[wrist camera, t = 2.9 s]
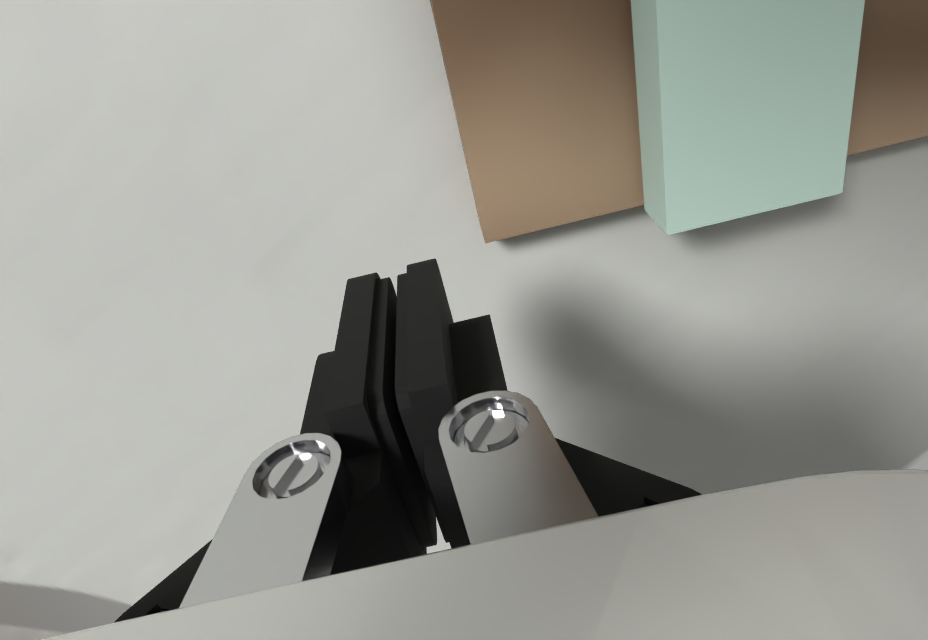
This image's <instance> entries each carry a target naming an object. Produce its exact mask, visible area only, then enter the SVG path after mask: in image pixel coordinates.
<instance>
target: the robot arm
mask: <svg viewBox="0 0 928 640" xmlns="http://www.w3.org/2000/svg"><path fill="white" fill-rule="evenodd" d="M436 517H437V520H438V523H439V526H440V528H441V531H442V534H443V537H444V539H445V542H446V543H447V542H450V545H451V548H452V549H448V550H443V551H438V552H434V553H429V554H427V550H426V547H429V546H433V545H436V544H437V528H436ZM40 640H928V470H914V469H905V470H865V471H848V472H839V473H830V474H821V475H812V476H803V477H797V478H792V479H786V480H781V481H775V482H770V483H764V484H759V485H753V486H748V487H742V488H737V489H731V490H726V491H720V492H715V493H709V494H704V495H702V494H700V493H698V492H696V491H695V490H693V489H690V488H688V487H685V486H682V485H680V484H677V483H674V482H672V481H669V480H666V479H664V478H661V477H658V476H656V475H653V474H650V473H648V472H645V471H642V470H640V469H637V468H634V467H631V466H629V465H626V464H623V463H621V462H618V461H615V460H613V459H610V458H607V457H605V456H602V455H599V454H597V453H594V452H591V451H589V450H586V449H583V448H581V447H578V446H575V445H573V444H570V443H567V442H564V441H562V440H559V439H556V438H554V436H553V434H552V432H551V431H550V429H549V427H548V425H547V424H546V422H545V420H544V418H543V416H542V415H541V413H540V411H539V409H538V407H537V406H536V405H535V404H534V403H533V402H532V401H531V400H530V399H529V398H527V397H525V396H523V395H521V394H519V393H515V392H510V391H507V386H506V382H505V378H504V374H503V369H502V365H501V361H500V357H499V352H498V348H497V344H496V339H495V335H494V331H493V327H492V322H491V318H490V315H485V316H481V317H477V318H473V319H468V320H464V321H460V322H455V323H453V319H452V315H451V311H450V308H449V304H448V300H447V297H446V293H445V289H444V286H443V282H442V278H441V275H440V271H439V267H438V264H437V261H436V259H431V260H427V261H422V262H418V263H414V264H410V265H407V273H405V274H401V275H398V277H397V296H396V293H395V290H394V287H393V284H392V281H391V279H390V278H389V277H388V278H384V279H380V277H379V275H378V274H377V273H372V274H368V275H364V276H360V277H356V278H351V279H348V281H347V285H346V290H345V296H344V301H343V307H342V312H341V318H340V323H339V329H338V335H337V340H336V346H335V351H332V352H328V353H323V354H320V355H318V358H317V360H316V365H315V369H314V374H313V378H312V383H311V387H310V392H309V396H308V401H307V405H306V410H305V414H304V419H303V423H302V428H301V432H300V435H296V436H292V437H290V438H287V439H285V440H283V441H280V442H278V443H276V444H275V445H273V446H272V447H270V448H269V449H267V450H266V451H264V452H263V453H262V454H261V455H260V456H259V457H258V458H257V459H256V460H254V461H253V462H252V464H251V465H250V467H249V468H248V470H247V471H246V473H245V475H244V477H243V479H242V481H241V483H240V485H239V487H238V489H237V491H236V493H235V495H234V497H233V499H232V501H231V503H230V505H229V507H228V509H227V511H226V513H225V515H224V517H223V519H222V521H221V523H220V526H219V528H218V530H217V532H216V534H215V536H214V538H213V539H212V540H211V541H210V542H209V543H207V544H206V545H205V546H204V547H203V548H201V549H200V550H199V551H198V552H197V553H195V554H194V555H193V556H192V557H191V558H189V559H188V560H187V561H186V562H185V563H183V564H182V565H181V566H180V567H179V568H177V569H176V570H175V571H174V572H173V573H171V574H170V575H169V576H168V577H166V578H165V579H164V580H163V581H162V582H160V583H159V584H158V585H157V586H156V587H154V588H153V589H152V590H151V591H150V592H148V593H147V594H146V595H145V596H144V597H142V598H141V599H140V600H139V601H138V602H136V603H135V604H134V605H133V606H132V607H130V608H129V609H128V610H127V611H126V612H124V613H123V614H122V615H121V616H120V617H119V618H118V619H117V620H116V621H115V622H114V623H111V624H107V625H102V626H98V627H94V628H89V629H84V630H80V631H75V632H71V633H66V634H62V635H58V636H53V637H49V638H44V639H40Z"/></svg>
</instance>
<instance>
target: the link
mask: <svg viewBox="0 0 928 640" xmlns="http://www.w3.org/2000/svg"><path fill="white" fill-rule="evenodd" d="M864 4H865V0H631V12H632V27H633V42H634V57H635V72H636V87H637V103H638V118H639V133H640V148H641V163H642V178H643V193H644V208H645V211H646V212H647V213H648V215H649V216H650V217H651V218H652V219H653V220H654V221H655V222H656V224H657V225H658V226H659V227H660V228H661V229H662V230H663V231H664V233H665V234H666V235H671V234H675V233H679V232H683V231H687V230H691V229H696V228H700V227H704V226H708V225H712V224H716V223H720V222H725V221H729V220H733V219H737V218H741V217H745V216H750V215H754V214H758V213H762V212H766V211H770V210H775V209H779V208H783V207H787V206H791V205H795V204H800V203H804V202H808V201H812V200H816V199H820V198H824V197H829V196H833V195H837V194H841V193H842V192H843V183H844V174H845V166H846V157H847V149H848V140H849V132H850V123H851V115H852V106H853V98H854V89H855V81H856V72H857V63H858V55H859V46H860V38H861V29H862V21H863V12H864Z"/></svg>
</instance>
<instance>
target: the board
mask: <svg viewBox="0 0 928 640" xmlns="http://www.w3.org/2000/svg"><path fill="white" fill-rule="evenodd" d="M430 2H431V6H432V11H433V15H434V20H435V24H436V29H437V33H438V38H439V42H440V47H441V51H442V56H443V60H444V65H445V69H446V74H447V78H448V82H449V87H450V91H451V96H452V100H453V105H454V109H455V114H456V118H457V123H458V127H459V132H460V136H461V141H462V145H463V150H464V154H465V159H466V163H467V168H468V172H469V177H470V181H471V186H472V190H473V195H474V199H475V203H476V208H477V212H478V217H479V221H480V226H481V230H482V233H483V237H484V240H485V243H489V242H493V241H497V240H501V239H505V238H510V237H514V236H518V235H522V234H526V233H530V232H534V231H538V230H543V229H547V228H551V227H555V226H559V225H563V224H567V223H571V222H576V221H580V220H584V219H588V218H592V217H596V216H600V215H604V214H609V213H613V212H617V211H621V210H625V209H629V208H633V207H637V206H642V205H644V193H643V178H642V163H641V148H640V133H639V118H638V103H637V87H636V72H635V57H634V42H633V27H632V12H631V0H430ZM926 136H928V0H865V4H864V12H863V21H862V29H861V38H860V46H859V55H858V63H857V72H856V81H855V89H854V98H853V106H852V115H851V123H850V132H849V140H848V149H847V156H848V155H852V154H856V153H860V152H864V151H868V150H873V149H877V148H881V147H885V146H889V145H893V144H897V143H901V142H906V141H910V140H914V139H918V138H922V137H926Z"/></svg>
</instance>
